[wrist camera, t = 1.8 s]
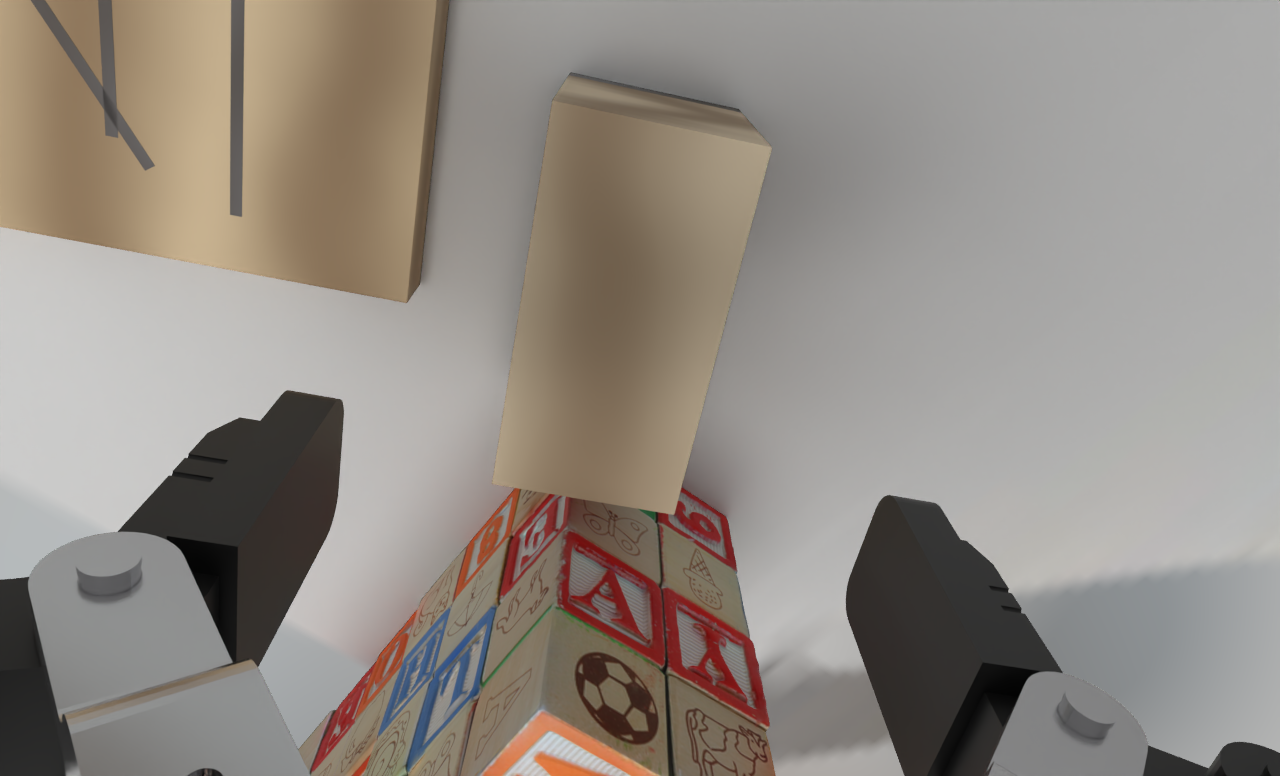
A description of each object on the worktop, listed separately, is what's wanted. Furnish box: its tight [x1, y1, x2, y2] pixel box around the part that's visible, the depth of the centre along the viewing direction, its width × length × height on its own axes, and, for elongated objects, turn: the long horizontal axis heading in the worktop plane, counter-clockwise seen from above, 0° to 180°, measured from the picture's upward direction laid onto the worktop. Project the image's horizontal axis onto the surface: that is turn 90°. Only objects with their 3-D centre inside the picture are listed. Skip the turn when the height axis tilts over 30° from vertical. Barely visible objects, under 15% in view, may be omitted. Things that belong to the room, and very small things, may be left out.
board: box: [0, 0, 449, 303], centre depth 21 cm, size 15×10×2 cm, turn 78°
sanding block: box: [492, 73, 772, 515], centre depth 22 cm, size 4×9×6 cm, turn 168°
